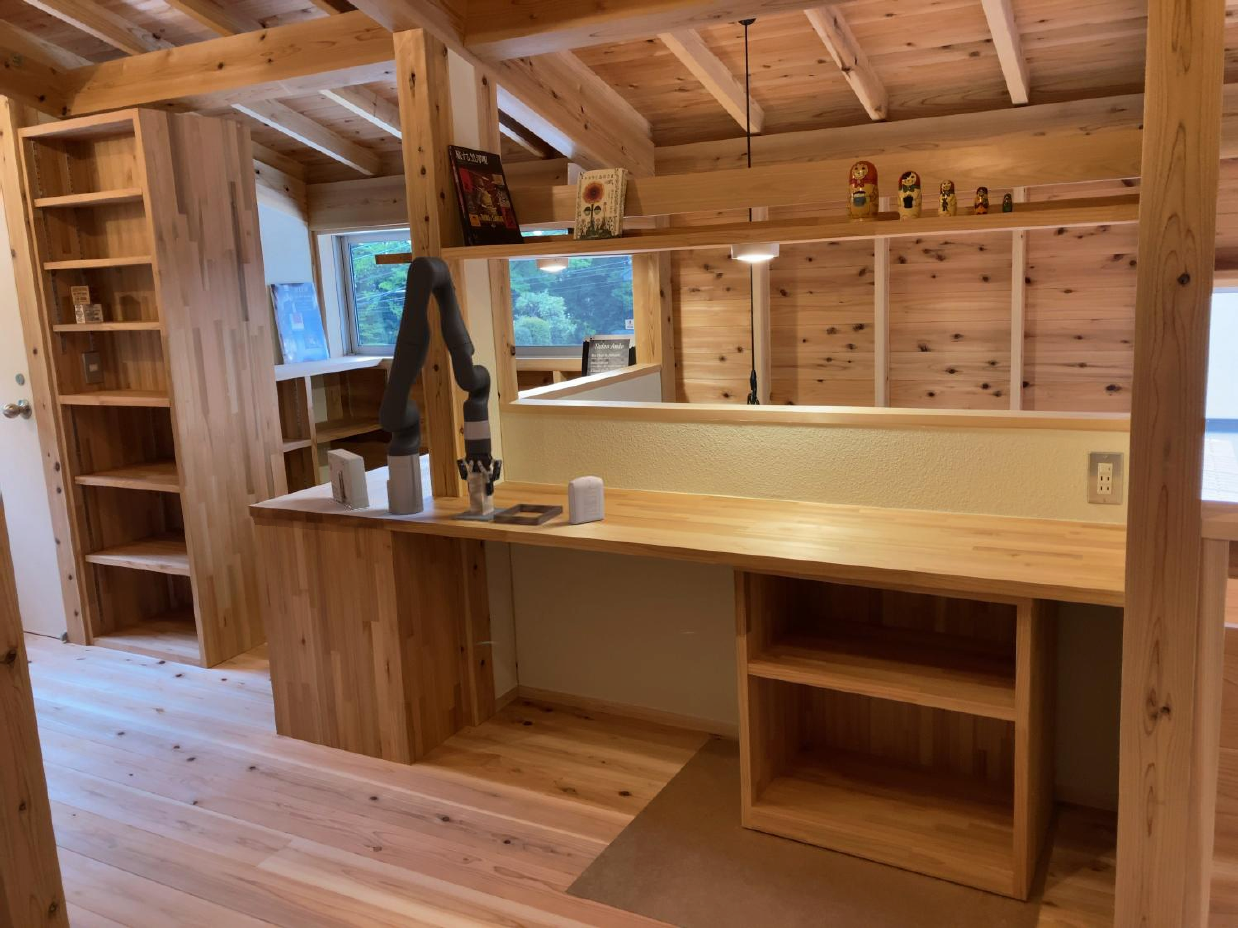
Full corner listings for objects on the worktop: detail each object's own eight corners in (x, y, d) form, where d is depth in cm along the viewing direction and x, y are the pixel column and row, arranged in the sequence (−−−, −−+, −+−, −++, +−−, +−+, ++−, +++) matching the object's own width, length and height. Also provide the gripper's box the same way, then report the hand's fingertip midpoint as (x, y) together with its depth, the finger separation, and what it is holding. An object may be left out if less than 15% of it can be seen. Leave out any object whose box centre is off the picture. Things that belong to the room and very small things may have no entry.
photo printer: (598, 516, 268) (596, 473, 265) (607, 519, 264) (605, 475, 262) (566, 522, 262) (564, 478, 260) (575, 525, 259) (572, 480, 256)
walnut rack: (493, 522, 266) (493, 515, 266) (519, 510, 280) (519, 503, 279) (538, 525, 261) (538, 518, 260) (563, 512, 274) (562, 505, 274)
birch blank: (471, 514, 274) (468, 473, 272) (481, 509, 279) (479, 469, 277) (483, 515, 272) (480, 473, 270) (493, 510, 278) (491, 469, 276)
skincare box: (331, 499, 306) (326, 450, 303) (347, 497, 309) (343, 448, 306) (352, 510, 289) (347, 458, 286) (370, 507, 292) (365, 456, 289)
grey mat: (451, 519, 272) (451, 517, 272) (477, 508, 284) (477, 506, 284) (488, 521, 267) (488, 519, 267) (512, 510, 280) (512, 508, 280)
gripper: (448, 437, 271) (452, 496, 274) (492, 438, 266) (496, 498, 269) (462, 433, 278) (466, 491, 281) (506, 434, 272) (509, 493, 275)
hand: (481, 494), depth 275 cm, fingers open, 5 cm apart
